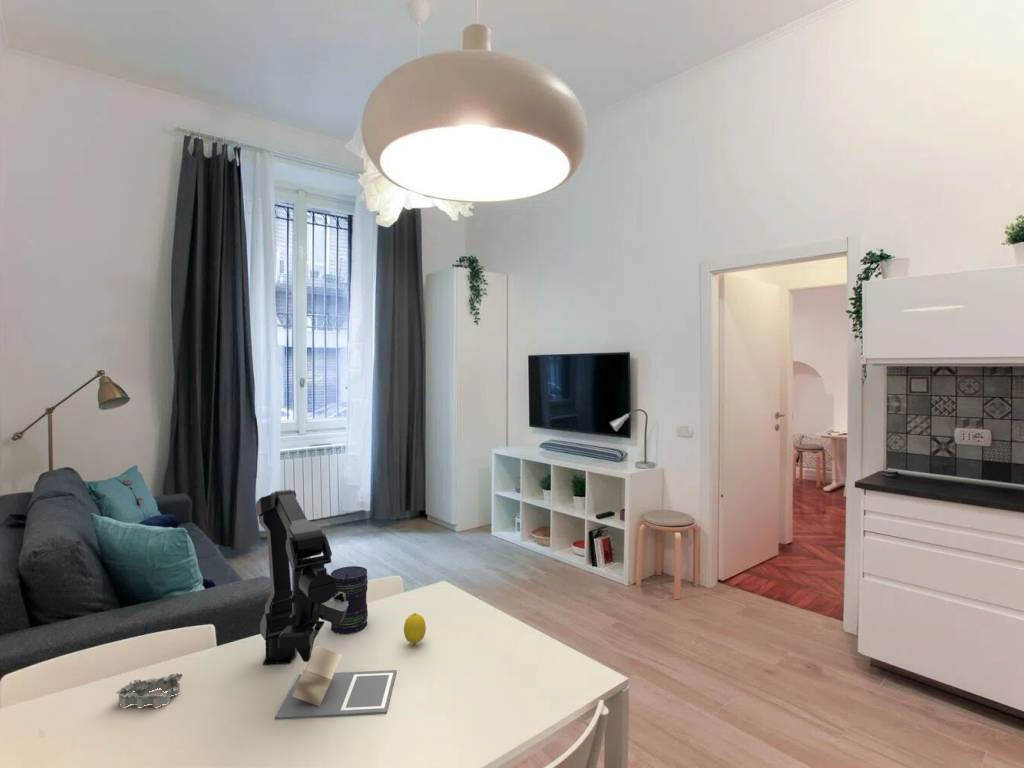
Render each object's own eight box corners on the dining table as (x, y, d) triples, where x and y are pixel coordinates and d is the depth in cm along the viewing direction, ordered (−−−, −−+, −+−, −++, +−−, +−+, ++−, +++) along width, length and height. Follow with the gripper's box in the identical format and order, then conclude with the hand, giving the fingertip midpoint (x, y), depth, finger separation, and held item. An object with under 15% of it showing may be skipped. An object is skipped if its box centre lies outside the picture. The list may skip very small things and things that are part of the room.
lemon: (421, 650, 136) (421, 618, 136) (400, 648, 138) (400, 616, 138) (428, 640, 142) (428, 609, 142) (408, 638, 143) (408, 607, 143)
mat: (274, 719, 109) (274, 717, 109) (299, 676, 125) (299, 674, 125) (386, 713, 111) (386, 711, 111) (396, 671, 127) (396, 669, 127)
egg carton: (185, 691, 119) (185, 672, 119) (161, 712, 112) (161, 692, 112) (138, 689, 120) (138, 671, 120) (111, 710, 112) (111, 690, 112)
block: (292, 696, 112) (303, 669, 112) (306, 670, 122) (317, 645, 122) (319, 706, 112) (331, 679, 113) (331, 679, 122) (342, 654, 123)
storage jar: (334, 619, 155) (334, 566, 154) (370, 617, 156) (370, 565, 156) (326, 635, 145) (326, 579, 145) (364, 633, 146) (364, 577, 146)
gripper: (334, 604, 108) (334, 683, 108) (353, 572, 127) (354, 639, 127) (276, 606, 107) (276, 685, 107) (304, 573, 126) (305, 641, 126)
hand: (306, 661), depth 117 cm, fingers closed, pressing on block
